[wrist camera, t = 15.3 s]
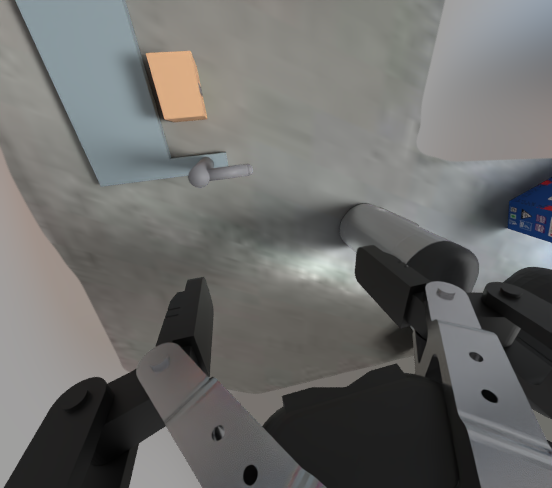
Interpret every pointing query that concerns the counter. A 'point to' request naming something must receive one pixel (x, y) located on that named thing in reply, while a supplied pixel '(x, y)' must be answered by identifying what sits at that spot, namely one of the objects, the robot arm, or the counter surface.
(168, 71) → the tan wooden brick
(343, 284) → the counter surface
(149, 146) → the screw clamp
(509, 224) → the blue cardboard box
